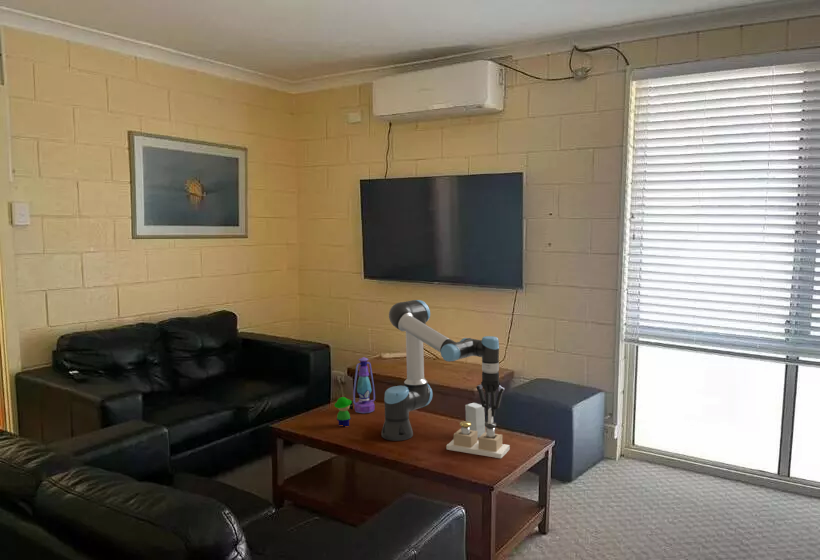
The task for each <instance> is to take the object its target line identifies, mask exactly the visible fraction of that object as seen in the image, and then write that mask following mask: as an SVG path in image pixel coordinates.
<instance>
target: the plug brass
mask: <svg viewBox="0 0 820 560" xmlns="http://www.w3.org/2000/svg"><path fill="white" fill-rule="evenodd" d="M470 426H471V422H469V421H466V420H465V421H464V420H463V421H460V422H459V427H461V428H460V429H461V434H465V435H469V434H470Z"/></svg>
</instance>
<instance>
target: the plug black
mask: <svg viewBox="0 0 820 560" xmlns="http://www.w3.org/2000/svg"><path fill="white" fill-rule="evenodd" d="M496 427H497V422H494V421H493V423H492V424H488V421H485V432H486V438H491V439H494V438H495V434H496V429H495V428H496Z"/></svg>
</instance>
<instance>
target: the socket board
mask: <svg viewBox="0 0 820 560" xmlns="http://www.w3.org/2000/svg"><path fill="white" fill-rule="evenodd" d="M445 445H446V446H445V447H446V450H449V451H454V452H458V453H459V452H461V453H466V454H471V455H479V456H485V457H490V458H491V457H492V458H495V459H502V458H503V457H505V455H506V454H507V453H508V452H509V451H510V450H511V449H510V448H511V447H510V446H511V445H510V444H505V443H504V444H503V434H502V433H501V434H498V433H495V438H494V439H491V438H486V431H485V433H483V434H482V435H481V436H480V437H478V438H477V431H473V430H470V434H469V435H465V434H461V428H459V429H458V430H457V431H456V432H454V433H453V439H452V440H451V441H450V442H449V443H447V444H445Z"/></svg>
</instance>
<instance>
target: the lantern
mask: <svg viewBox="0 0 820 560" xmlns="http://www.w3.org/2000/svg"><path fill="white" fill-rule="evenodd" d="M358 361H360V362H358V363H356V367H355V374H354V381H353V383H354V384H353V391H352V401H353V408H354V412H355V413H358V414H370V413H372V412H375V409H376V408H375V406H376V405H375V403H374V402H375V400H376V390H375V389H376V388H375V384H374V377H373V370H372V369H373V368H372V364H371V363H372V362H370V361H369V358H367V357H365V356H363V357H361V358H358ZM358 370H359V371H358ZM358 376H359V377H358ZM369 376H370V377H369ZM357 378H358V380H357ZM370 379H371V381H370ZM371 384H372V385H371ZM356 393H357V394H358V401H356ZM371 393H372V399H370V395H371Z"/></svg>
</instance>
